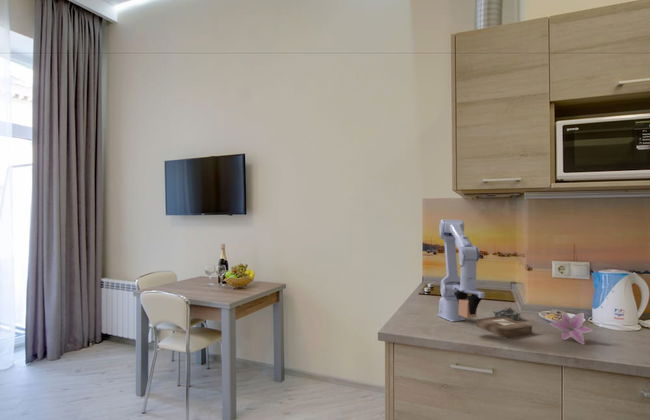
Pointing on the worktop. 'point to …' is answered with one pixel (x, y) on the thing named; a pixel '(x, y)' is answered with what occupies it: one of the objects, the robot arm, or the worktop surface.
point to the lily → (572, 327)
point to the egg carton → (507, 313)
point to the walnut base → (504, 326)
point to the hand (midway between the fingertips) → (467, 312)
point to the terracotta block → (465, 309)
